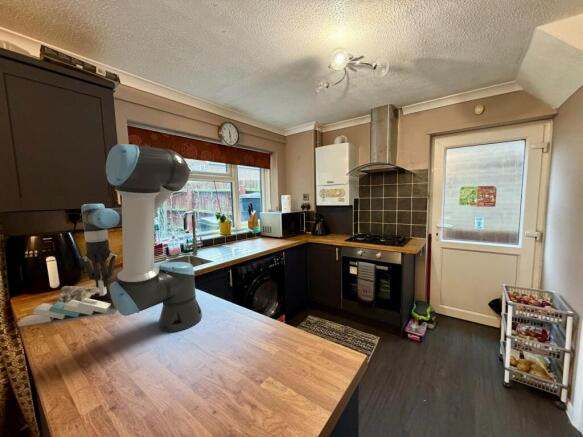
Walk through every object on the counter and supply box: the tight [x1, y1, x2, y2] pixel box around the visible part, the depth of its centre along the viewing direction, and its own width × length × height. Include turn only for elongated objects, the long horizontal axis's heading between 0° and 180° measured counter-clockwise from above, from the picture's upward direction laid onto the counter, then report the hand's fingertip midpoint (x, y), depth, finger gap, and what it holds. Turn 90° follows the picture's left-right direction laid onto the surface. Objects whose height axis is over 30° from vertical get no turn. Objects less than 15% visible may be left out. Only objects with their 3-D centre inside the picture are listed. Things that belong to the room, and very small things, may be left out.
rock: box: [56, 285, 106, 303], centre depth 113 cm, size 24×9×15 cm
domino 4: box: [77, 298, 112, 313], centre depth 101 cm, size 2×5×10 cm
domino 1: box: [17, 314, 54, 327], centre depth 96 cm, size 2×5×10 cm
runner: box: [41, 305, 118, 326], centre depth 101 cm, size 24×9×1 cm, turn 108°
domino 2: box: [32, 302, 67, 319], centre depth 97 cm, size 2×5×10 cm
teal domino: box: [49, 301, 82, 317], centre depth 99 cm, size 2×5×10 cm
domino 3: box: [64, 300, 95, 315], centre depth 100 cm, size 2×5×10 cm
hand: (103, 294), depth 102 cm, fingers closed
